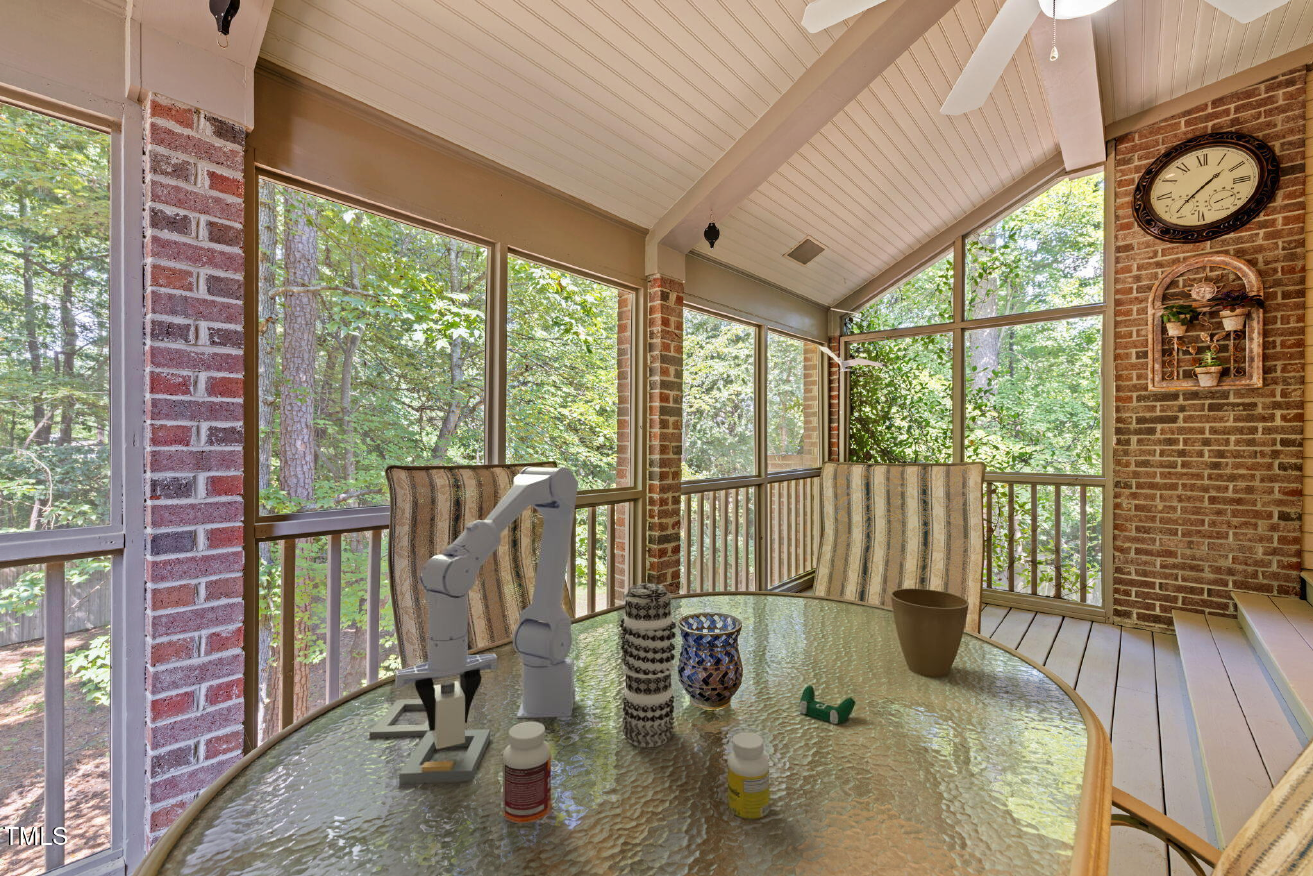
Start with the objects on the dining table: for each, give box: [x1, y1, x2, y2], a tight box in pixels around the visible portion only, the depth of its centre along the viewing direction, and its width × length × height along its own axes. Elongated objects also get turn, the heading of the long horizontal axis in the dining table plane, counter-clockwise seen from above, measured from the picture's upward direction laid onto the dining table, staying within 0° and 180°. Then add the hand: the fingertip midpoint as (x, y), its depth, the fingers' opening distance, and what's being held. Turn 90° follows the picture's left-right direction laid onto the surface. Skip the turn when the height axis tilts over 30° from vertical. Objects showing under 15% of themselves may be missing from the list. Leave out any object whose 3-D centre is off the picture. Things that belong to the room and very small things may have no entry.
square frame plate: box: [369, 698, 430, 739], centre depth 102 cm, size 10×12×1 cm
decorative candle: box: [619, 582, 677, 748], centre depth 95 cm, size 9×9×25 cm
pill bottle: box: [502, 721, 552, 824], centre depth 76 cm, size 6×6×11 cm
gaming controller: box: [798, 685, 856, 726], centre depth 102 cm, size 9×4×6 cm
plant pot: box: [890, 587, 970, 678], centre depth 122 cm, size 15×15×16 cm
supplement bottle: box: [727, 731, 771, 821], centre depth 76 cm, size 5×5×10 cm
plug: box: [431, 681, 466, 750], centre depth 88 cm, size 4×6×8 cm, turn 28°
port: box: [398, 728, 491, 785], centre depth 88 cm, size 10×12×3 cm
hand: (447, 724), depth 88 cm, fingers closed on plug, 4 cm apart
